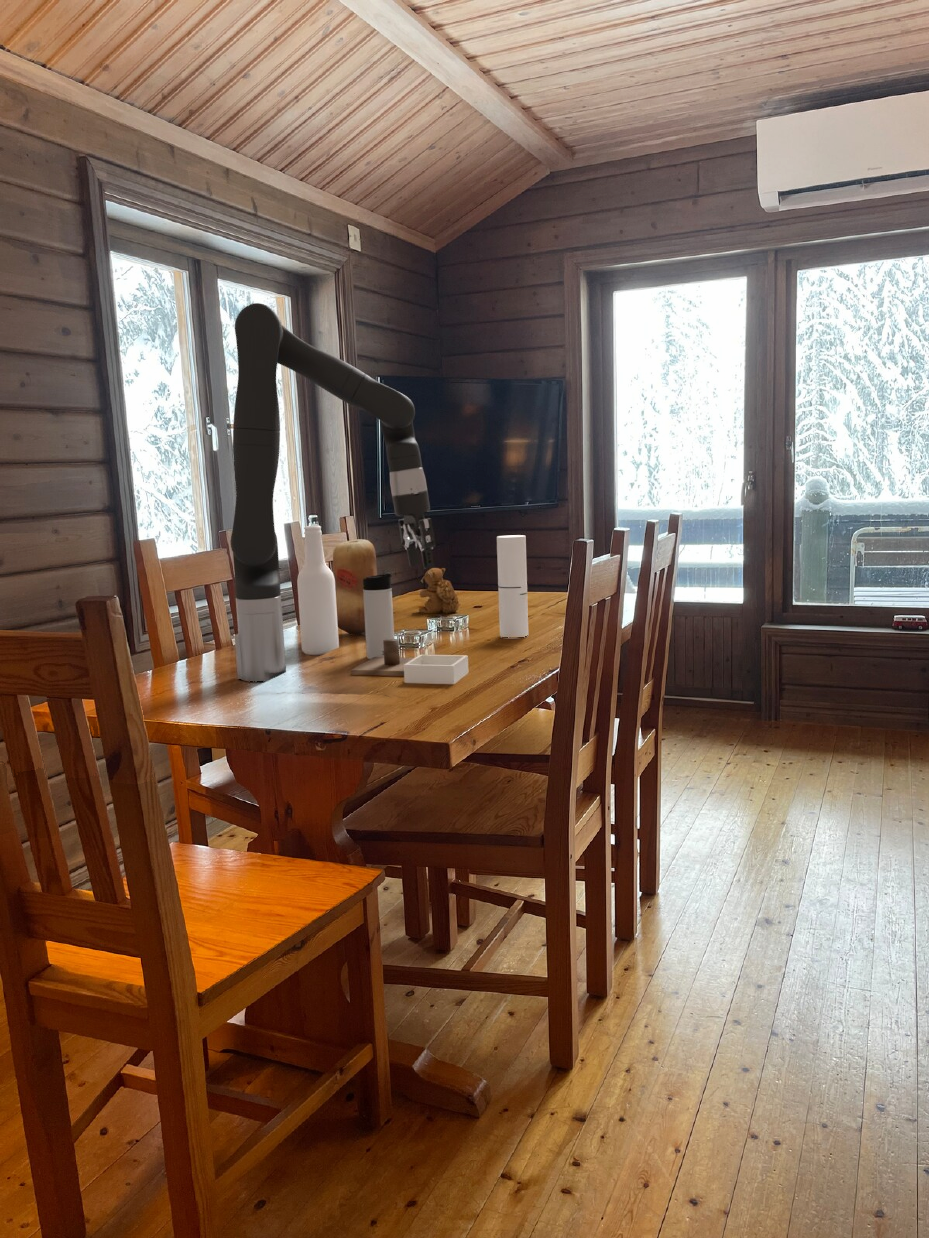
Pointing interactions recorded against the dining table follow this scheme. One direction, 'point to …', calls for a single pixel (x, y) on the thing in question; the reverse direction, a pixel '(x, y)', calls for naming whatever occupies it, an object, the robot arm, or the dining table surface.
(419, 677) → the dish
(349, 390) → the robot arm
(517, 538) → the cylindrical container
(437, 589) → the stuffed squirrel
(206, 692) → the dining table surface
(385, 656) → the lid
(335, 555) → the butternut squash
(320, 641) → the alcohol
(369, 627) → the travel mug
